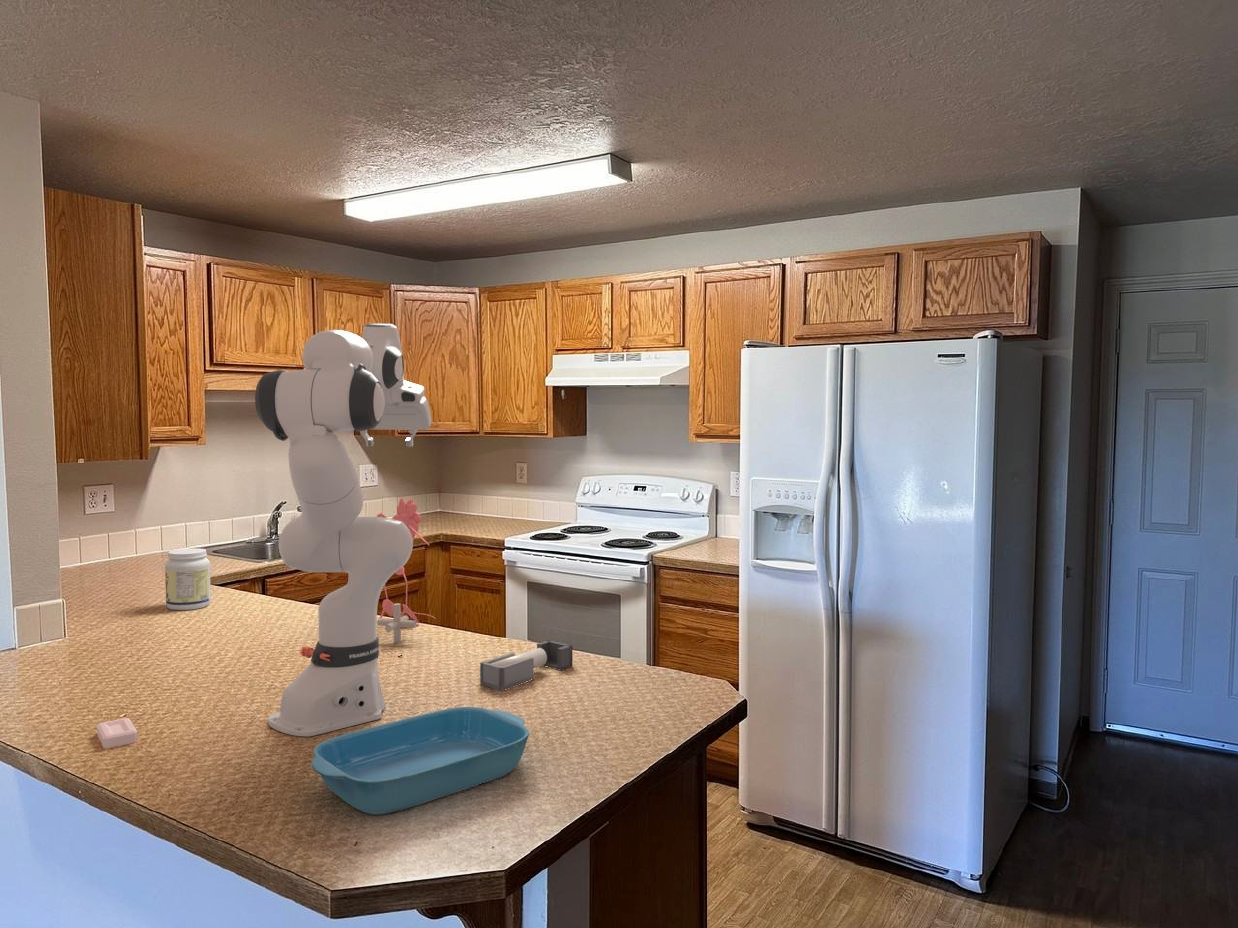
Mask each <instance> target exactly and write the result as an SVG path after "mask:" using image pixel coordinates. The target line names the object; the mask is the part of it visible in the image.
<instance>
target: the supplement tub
mask: <svg viewBox="0 0 1238 928" xmlns="http://www.w3.org/2000/svg"><path fill="white" fill-rule="evenodd" d="M207 556H208V554H207V549H205V548H197V547H196V548H195V547H193V548H191V547H190V548H180V549H179V548H178V549H174V550H170V551H168V552H167V559H168V560H167V561H166V563H165V564H164V565H165V566H164V569H165V570H164V573H165V575H164V577H165V579H164V580H165V605H166V607H167V608H168V609H169V610H174V611H191V610H197V609H202V608H205V607H207V606H209V605H211V604H210V603H211V602H212V601H211V600H212V598H211V596H212V595H211V562H210V560H209V559H208V558H207Z"/></svg>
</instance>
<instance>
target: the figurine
mask: <svg viewBox="0 0 1238 928" xmlns="http://www.w3.org/2000/svg"><path fill="white" fill-rule="evenodd" d="M417 510H418V505H417V504H416V503H414V500H413V498H409V499H408V500H407V501H405V500H404V497H401V498H399V501H398V505H397V506H396V515H393V516H392V517H391V519H394V520H398V521H402V522H403V523H404V524H405V525H406V526H407V527H408V529H409V530H410V532H411V535H412V539H413V542H414V541H415V538H416V536H417V537H418V538H419V539H421V540H422V541H423V542H424V543H425V544H427V546H428V547H429V546H430V543H429V542H428V541H426V539H424V538H423V536H422V535H421V534H420V533H419V526H418V524H421V522H422V516H421V515H420V514H419V513H418V512H417ZM375 517H383V518H387V516H386V515H385V514H383V512H380V513H378V514H377V515H376V516H375ZM394 574H396V575H398V576H402V575H403V578H404V580H405V588H406V589H405V604H404V603H403V604H402V608H403V609H402V611H401V617H403V616H405V615H404V614H408V616H410V617H411V619H412V620H413V621H416V622H417V624H418V625H420V621H419V619H418V617H417V616H416V615H415V614H418V615H422V613H419V612H415V611H412V610H411V609H410V608H409V607H408V588H409V587H408V585H409V584H408V580H407V576H406V574H405V567H404V566H403V567H402V568H400V569H399V570H397V571H396V572H395V573H394ZM383 588H384V592H385V597H386V599H383V601H382V605H381V606H382V608H383V609H382V611H381V614H380V616H379V618H378V619H381V618H382V619H383V616H384V614H385V613H386V614H387V616H389V617H392V618H393V604H394V603H393V602H392V601H391V600H390V599H389V597H388V592H387V589H386V584H385V585H384V587H383ZM423 615H425V616H429V617H432V618H434V619H435V620H436V617H434V616H433V615H431V614H429V613H428V614H426V613H423ZM412 630H414V629H413V628H410V629H408V631H412Z"/></svg>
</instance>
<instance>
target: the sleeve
mask: <svg viewBox="0 0 1238 928" xmlns="http://www.w3.org/2000/svg"><path fill="white" fill-rule="evenodd" d="M515 655H516V653H514V652H510V653H507V654H504V655H501V656H497V657H494V658H491V659H488V660H485V661H482V662H480V663H479V667H480V669H479V675H480V677H479V683H480V684H479V685H480V686H481V685H482V687H485V686H486V688H489V687H490V688H489V689H492V688H493V689H492V690H496V691H499V690H500V691H499V692H504V691H506V690H505V689H507V690H509V689H508V688H510V689H512V688H514V687H513V686H515V687H517V686H516V685H518V686H520V685H522V684H521V683H523V684H525V683H524V682H526V681H529V680H531V679H533V678H534V674H535V673H534V669H535V668H534V658H532V657H529V658H526V659H523V660H520V661H517V662H514V663H511V664H508V665H505V666H502V667H501V666H497V665H493V664H491V663H494V662H497V661H500V660H503V659H506V658H509V657H512V656H515ZM533 680H534V679H533ZM531 681H532V680H531ZM529 682H530V681H529ZM526 683H527V682H526ZM519 684H520V685H519ZM511 687H512V688H511ZM503 690H504V691H503Z"/></svg>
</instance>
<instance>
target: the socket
mask: <svg viewBox="0 0 1238 928" xmlns="http://www.w3.org/2000/svg"><path fill="white" fill-rule="evenodd" d="M537 648H542V649H543V650H544V651H545V652H546V655H547V661H546V663H545V664H544V666H543V667H545V666H548V667H547V668H549V667H551V668H550V669H553V668H556V669H555V670H557V669H560V670H559V671H561V670H562V671H564V670H566V669H565V668H567V669H569V668H568V667H570V668H572V667H573V650H574V649H573V645H571V644H567V643H562V642H558V641H553V640H549V639H548V640H545V641H542V642H539V643H536V649H537ZM571 666H572V667H571ZM563 669H564V670H563Z"/></svg>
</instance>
